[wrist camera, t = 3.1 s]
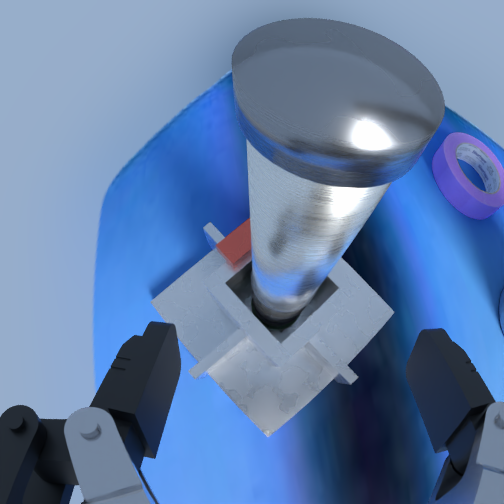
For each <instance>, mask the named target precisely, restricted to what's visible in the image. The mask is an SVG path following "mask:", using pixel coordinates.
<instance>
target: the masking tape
mask: <svg viewBox="0 0 504 504" xmlns="http://www.w3.org/2000/svg"><path fill="white" fill-rule="evenodd" d="M457 159H460V160H463V161H465V162H467V163H468V164H470V165H471V166H472V167H473V168H474V169H475V170H476V171H477V172H478V174H479V175H480V176H481V178H482V180H483V182H484V185H485V189H486V192H485V191H483V190H481V189H479V188H477V187H476V186H475V185H474V184H473V183H472V182H471V181H470V180H469V179H468V178H467V177H466V175H465V174H464V173H463V171H462V169H461V168H460V165H459V163H458V160H457ZM432 170H433V174H434V178H435V181H436V183H437V185H438V187H439V189H440V190H441V192H442V193H443V195H444V196H445V198H446V199H447V200H448V201H449V202H450V203H451V204H452V205H453V206H454V207H455V208H456V209H457V210H458V211H460V212H461V213H462V214H464V215H466V216H468V217H470V218H473V219H478V220H482V219H486V218H488V217H489V216H491V215H492V214H493V213H494V212H496V211H497V210H498V209H499V208H500V207H502V206H503V205H504V169H503V167H502V165H501V164H500V162H499V161H498V159H497V158H496V156H495V155H494V154H493V153H492V151H491V150H490V149H489V148H488V147H487V146H485V145H484V144H483V143H482V142H481V141H479V140H478V139H476V138H474V137H473V136H470V135H468V134H465V133H458V132H457V133H452V134H450V135H448V136H447V137H446V139H445V140H444V142H443V143H442V144H441V146H440V147H439V149H438V150H437V151H436V153H435V154H434V156H433V160H432Z"/></svg>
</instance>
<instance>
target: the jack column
mask: <svg viewBox="0 0 504 504" xmlns="http://www.w3.org/2000/svg"><path fill="white" fill-rule="evenodd" d="M232 74H233V87H234V100H235V112H236V118H237V121H238V124H239V127H240V129H241V131H242V132H243V134H244V136H245V138H246V139H247V157H248V180H249V203H250V226H251V248H252V274H251V284H252V302H251V306H252V313H253V315H254V316H255V317H256V318H257V319H258V320H259V321H260V322H261V323H262V324H263V325H264V327H265V328H266V329H269V330H275V331H277V330H283V329H286V328H288V327H290V326H291V325H293V324H294V323H295V322H296V320H297V319H298V318H299V316H300V314H301V312H302V311H303V310H304V309H305V307H306V306H307V304H308V303H309V302H310V301H311V300H312V298H313V297H314V295H315V293H316V291H317V289H318V288H319V286H320V285H321V284H322V282H323V281H324V280H325V278H326V277H327V276H328V274H329V273H330V271H331V270H332V269H333V267H334V266H335V265H336V263H337V262H338V260H339V259H340V258H341V256H342V255H343V254H344V252H345V251H346V249H347V248H348V246H349V245H350V244H351V242H352V241H353V239H354V238H355V236H356V235H357V234H358V232H359V231H360V229H361V228H362V226H363V225H364V223H365V222H366V220H367V219H368V218H369V216H370V215H371V213H372V212H373V210H374V209H375V207H376V206H377V204H378V203H379V201H380V200H381V198H382V196H383V195H384V193H385V192H386V190H387V189H388V187H389V186H390V184H391V183H392V182H393V181H395V180H397V179H399V178H400V177H402V176H404V175H405V174H406V173H407V172H408V171H409V170H411V168H412V167H413V166H414V164H415V163H416V162H417V160H418V159H419V157H420V156H421V154H422V152H423V151H424V149H425V148H426V146H427V145H428V143H429V142H430V140H431V138H432V137H433V135H434V134H435V132H436V130H437V129H438V127H439V125H440V124H441V122H442V119H443V117H444V112H445V103H444V98H443V94H442V91H441V89H440V87H439V85H438V83H437V81H436V80H435V78H434V77H433V75H432V74H431V73H430V72H429V70H428V69H427V68H426V67H425V66H424V65H423V64H422V63H421V62H420V61H419V60H418V59H417V58H416V57H415V56H414V55H412V54H411V53H410V52H408V51H407V50H406V49H404V48H403V47H401V46H400V45H398V44H397V43H395V42H393V41H391V40H389V39H388V38H386V37H384V36H382V35H380V34H378V33H375V32H373V31H370V30H368V29H365V28H362V27H359V26H356V25H352V24H349V23H344V22H340V21H334V20H327V19H317V18H298V19H289V20H282V21H277V22H273V23H270V24H267V25H264V26H262V27H259V28H257V29H255V30H253V31H252V32H250V33H249V34H248V35H246V36H245V37H243V39H242V40H241V41H240V42H239V43H238V45H237V46H236V47H235V49H234V52H233V55H232Z"/></svg>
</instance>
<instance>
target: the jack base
mask: <svg viewBox="0 0 504 504" xmlns="http://www.w3.org/2000/svg"><path fill="white" fill-rule="evenodd" d="M203 230H204V232H205V235H206V238H207V241H208V243H209V246H210V247H211V248H212V249H213V250H212V251H211V252H210V253H208V254H207V255H206V256H205V257H204V258H202V259H201V260H200V261H199V262H197V263H196V264H195V265H194V266H193V267H191V268H190V269H189V270H188V271H187V272H185V273H184V274H183V275H182V276H181V277H179V278H178V279H177V280H176V281H175V282H173V283H172V284H171V285H170V286H169V287H167V288H166V289H165V290H164V291H163V292H161V293H160V294H159V295H158V296H157V297H155V298H154V299H153V300H152V301H151V303H152V305H153V306H154V307H155V309H156V310H157V311H158V313H159V314H160V315H161V317H162V318H163V319H164V320H165V322H166V323H173V324H174V325H175V327H176V332H177V337H178V338H179V339H180V341H181V342H182V343H183V344H184V346H185V347H186V348H187V349H188V350H189V352H190V353H191V354H192V355H193V356H194V358H195V359H196V360H197V361H198V362H199V363H197V364H196V365H195V366H194V367H193V368H191V369H190V370H189V371H188V372H189V373H190V374H191V375H192V376H193V377H194V379H200V378H204V377H205V376H207V375H208V374H209V375H210V376H211V377H212V379H213V380H214V381H215V382H216V383H217V384H218V385H219V386H220V388H221V389H222V390H223V391H224V392H225V393H226V394H227V395H228V396H229V397H230V398H231V400H232V401H233V402H234V403H235V404H236V405H237V406H238V407H239V408H240V409H241V410H242V411H243V412H244V413H245V414H246V415H247V416H248V417H249V419H250V420H251V421H252V422H253V423H254V424H255V425H256V426H257V427H258V428H259V429H260V430H261V431H262V432H263V433H264V434H265V435H266V436H267V437H269V436H270V435H271V434H273V433H274V432H275V431H276V430H278V429H279V428H280V427H281V426H282V425H283V424H285V423H286V422H287V421H288V420H289V419H290V418H292V417H293V416H294V415H295V414H296V413H297V412H298V411H300V410H301V409H302V408H303V407H304V406H305V405H306V404H307V403H308V402H310V401H311V400H312V399H313V398H314V397H315V396H316V395H317V394H318V393H319V392H320V391H321V390H322V389H323V388H324V387H326V386H327V385H328V384H329V383H330V382H331V381H332V380H333V379H335V380H336V381H337V382H338V383H344V384H350V385H351V384H352V383H353V382H354V381H355V380H356V379H357V378H358V376H357V375H356V374H355V373H354V372H353V371H352V370H351V369H350V368H349V367H348V366H347V365H348V364H349V363H350V361H351V360H352V359H353V358H354V357H355V356H356V355H357V354H358V353H359V352H360V351H361V350H362V349H363V348H364V347H365V345H366V344H367V343H368V342H369V341H370V340H371V339H372V338H373V337H374V335H375V334H376V333H377V332H378V331H379V330H380V329H381V328H382V326H383V325H384V324H385V323H386V322H387V321H388V319H389V318H390V317H391V316H392V315H393V313H394V311H393V310H392V309H391V308H390V307H389V306H388V305H387V304H386V303H385V302H384V301H383V300H382V299H381V297H380V296H379V295H378V294H377V293H376V292H375V291H374V290H373V289H372V288H371V287H370V286H369V285H368V284H367V283H366V282H365V281H364V280H363V279H362V278H361V277H360V276H359V275H358V274H357V273H356V272H355V271H354V270H353V269H352V268H351V267H350V266H349V265H348V264H347V263H346V262H345V261H344V260H343V259H342V258H340V259H339V260H338V262H337V263H336V265H335V266H334V267H333V269H332V270H331V271H330V273H329V274H328V276H327V277H326V278H325V280H324V281H323V282H322V284H321V285H320V286H319V288H318V289H317V291H316V293H315V295H314V297H313V298H312V300H311V301H310V302H309V303H308V304H307V306H306V307H305V309H304V310H303V311H302V312H301V314H300V316H299V318H298V319H297V320H296V322H295V323H294V324H293V325H291V326H290V327H288V328H286V329H283V330H277V331H275V330H269V329H266V328H265V327H264V325H263V324H262V323H261V322H260V321H259V320H258V319H257V318H256V317H255V316H254V315H253V313H252V306H251V302H252V284H251V274H252V248H251V226H250V218H249V219H247V220H246V221H245V222H244V223H242V224H241V225H240V226H239V227H237V228H236V229H235V230H234V231H233V232H231V233H230V234H229V235H228V236H226V237H224V236H223V235H222V234H221V233H220V232H219V231H218V230H217V228H216V227H215V226H214V225H213V224H212V223H211V222H210V223H208V224H207V225H206V226H205V227H203Z"/></svg>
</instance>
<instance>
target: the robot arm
mask: <svg viewBox="0 0 504 504" xmlns="http://www.w3.org/2000/svg"><path fill="white" fill-rule="evenodd" d="M499 316H500V323H501V327H502V330H503V333H504V289H503V291H502V294H501V297H500V304H499ZM180 370H181V358H180V352H179V346H178V339H177V332H176V327H175V325H174V324H173V323H163V322H153V321H151V322H150V323H149V324H148V326H147V328H146V330H145V332H144V334H143V336H137V335H134V336H133V337H131V338H130V339H129V340H128V341H127V342H125V343H124V344H123V345H122V347H121V348H120V350H119V352H118V354H117V356H116V359H114V361H113V363H112V365H111V369H109V370H108V372H107V374H106V376H105V378H104V380H103V382H102V384H101V386H100V387H99V389H98V391H97V393H96V395H95V397H94V399H93V401H92V403H91V405H90V406H89V407H86V408H82V409H79V410H77V411H75V412H74V413H73V414H71V415H70V416H69V418H68V419H39V417H38V416H37V414H36V413H35V412H34V410H33V409H31V408H30V407H27V406H24V405H17V406H13V407H11V408H9V409H7V410H6V411H5V412H4V413H3V414H2V415H1V417H0V504H69V502H70V499H71V496H72V492H73V489H74V486H75V485H80V488H81V491H82V494H83V497H84V502H82V503H81V504H160V503H159V502H158V500H157V498H156V496H155V494H154V493H153V491H152V489H151V487H150V485H149V484H148V482H147V480H146V478H145V476H144V474H143V472H142V470H141V468H140V467H141V464H142V461H143V457H144V456H145V457H149V458H154V459H155V458H156V454H157V451H158V447H159V444H160V440H161V437H162V433H163V430H164V426H165V423H166V420H167V416H168V413H169V410H170V406H171V403H172V399H173V396H174V393H175V390H176V386H177V383H178V380H179V376H180ZM406 378H407V381H408V383H409V386H410V388H411V391H412V393H413V396H414V398H415V400H416V403H417V406H418V408H419V411H420V413H421V416H422V418H423V421H424V424H425V426H426V429H427V432H428V435H429V437H430V440H431V443H432V446H433V449H434V451H435V453H439V452H443V451H446V450H448V452H449V456H448V457H447V458H446V460H445V462H444V465H443V467H442V470H441V473H440V475H439V478H438V480H437V483H436V485H435V488H434V490H433V492H432V495H431V497H430V499H429V501H428V503H427V504H504V402H495V400H494V398H493V397H492V395H491V393H490V391H489V390H488V388H487V386H486V384H485V383H484V381H483V379H482V378H481V376H480V374H479V373H478V372H476V368H475V366H474V365H473V363H471V360H470V358H469V357H468V355H467V354H466V352H465V351H464V350H463V349H462V348H461V347H460V346H458V345H457V344H456V343H455V342H452V340H451V339H450V337H449V336H448V334H447V333H446V331H445V330H444V329H442V328H438V329H424V330H422V331H421V332H420V333H419V336H418V338H417V341H416V343H415V346H414V348H413V351H412V353H411V355H410V358H409V360H408V362H407V366H406Z"/></svg>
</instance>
